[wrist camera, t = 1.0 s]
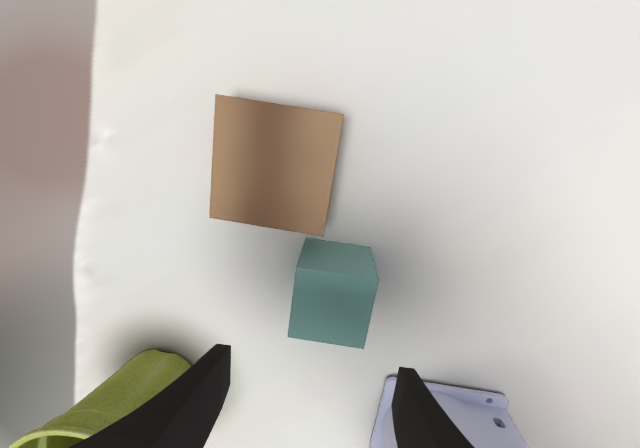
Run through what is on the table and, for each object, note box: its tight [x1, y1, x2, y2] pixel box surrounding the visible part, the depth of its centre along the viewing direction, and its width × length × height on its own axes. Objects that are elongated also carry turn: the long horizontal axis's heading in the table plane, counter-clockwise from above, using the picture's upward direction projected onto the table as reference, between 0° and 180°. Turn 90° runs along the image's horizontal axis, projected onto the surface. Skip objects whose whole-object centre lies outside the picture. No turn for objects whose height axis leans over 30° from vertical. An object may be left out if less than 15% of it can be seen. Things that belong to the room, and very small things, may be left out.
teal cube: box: [288, 238, 378, 349], centre depth 19 cm, size 4×4×5 cm
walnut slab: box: [209, 94, 343, 236], centre depth 18 cm, size 7×7×3 cm
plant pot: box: [8, 349, 191, 448], centre depth 21 cm, size 9×9×9 cm
